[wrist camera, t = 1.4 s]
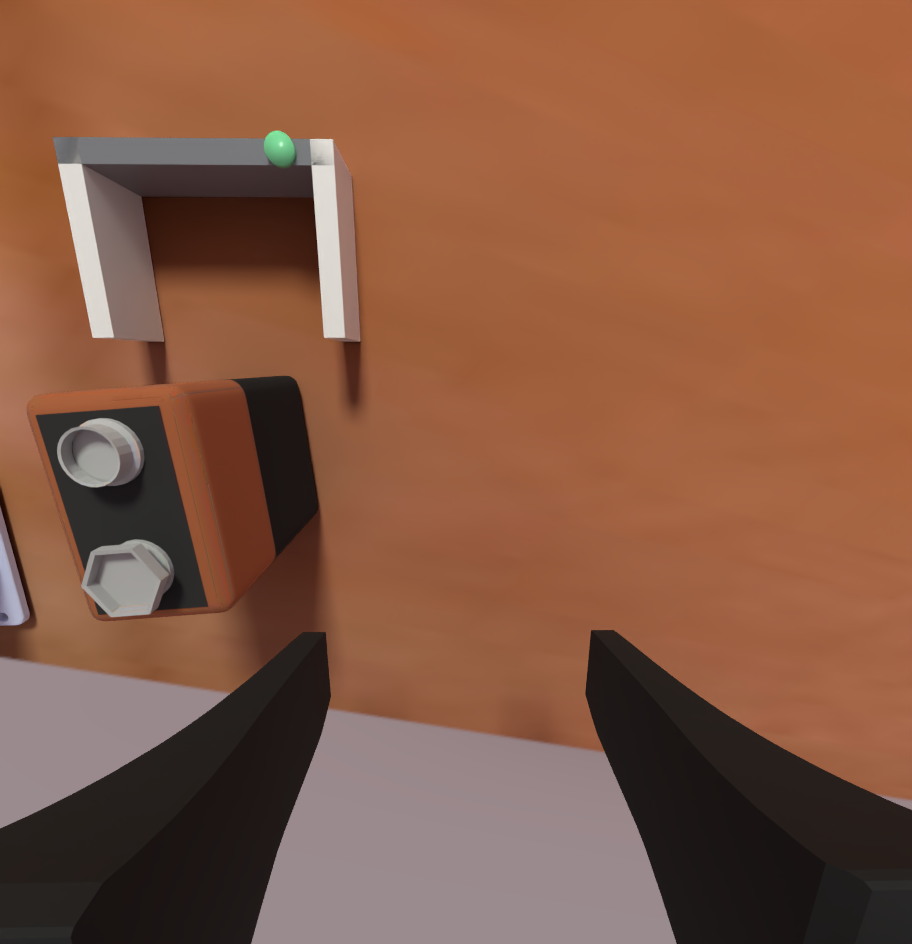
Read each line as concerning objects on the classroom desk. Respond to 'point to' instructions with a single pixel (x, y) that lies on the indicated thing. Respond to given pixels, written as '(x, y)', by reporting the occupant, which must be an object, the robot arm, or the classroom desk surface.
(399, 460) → the classroom desk surface
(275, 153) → the charging bay
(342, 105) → the classroom desk surface
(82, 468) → the battery
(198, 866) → the robot arm
